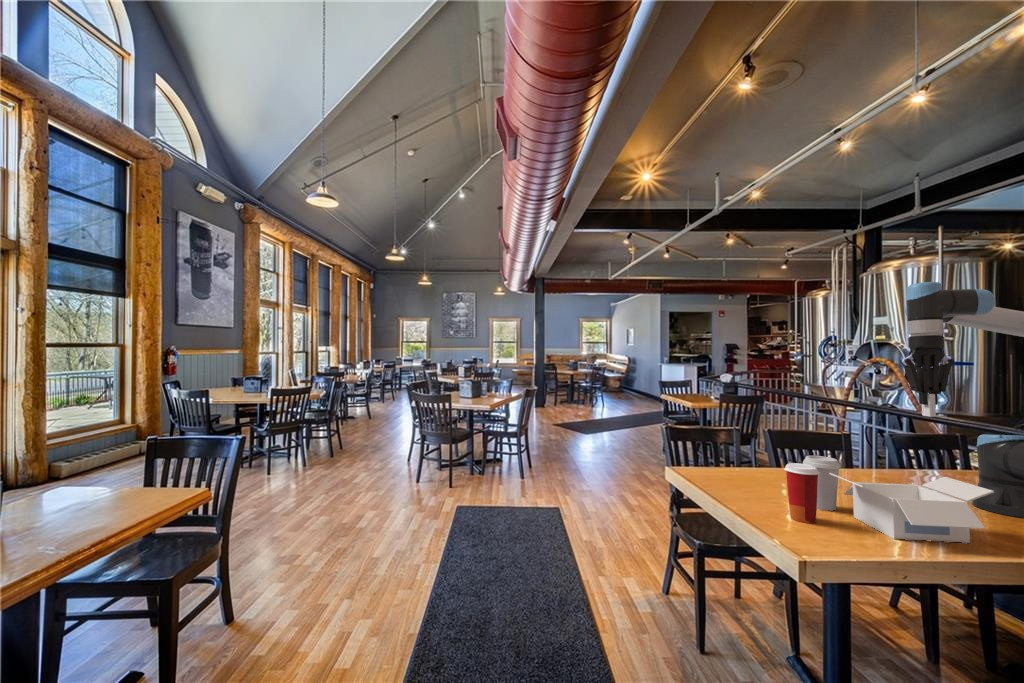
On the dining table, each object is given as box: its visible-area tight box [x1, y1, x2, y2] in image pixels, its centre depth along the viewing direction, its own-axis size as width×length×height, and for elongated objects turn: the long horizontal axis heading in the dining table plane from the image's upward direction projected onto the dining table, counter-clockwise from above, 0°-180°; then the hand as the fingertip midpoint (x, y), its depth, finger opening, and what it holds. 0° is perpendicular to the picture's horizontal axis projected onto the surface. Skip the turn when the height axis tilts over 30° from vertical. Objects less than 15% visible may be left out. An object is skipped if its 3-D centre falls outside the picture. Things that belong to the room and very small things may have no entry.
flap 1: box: [829, 473, 889, 498], centre depth 115 cm, size 6×14×1 cm, turn 172°
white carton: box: [844, 481, 986, 544], centre depth 113 cm, size 17×25×10 cm
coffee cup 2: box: [802, 455, 842, 512], centre depth 130 cm, size 10×10×15 cm
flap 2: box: [921, 476, 994, 503], centre depth 112 cm, size 6×14×1 cm, turn 174°
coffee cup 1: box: [783, 462, 819, 524], centre depth 120 cm, size 8×8×15 cm
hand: (929, 416), depth 122 cm, fingers closed
